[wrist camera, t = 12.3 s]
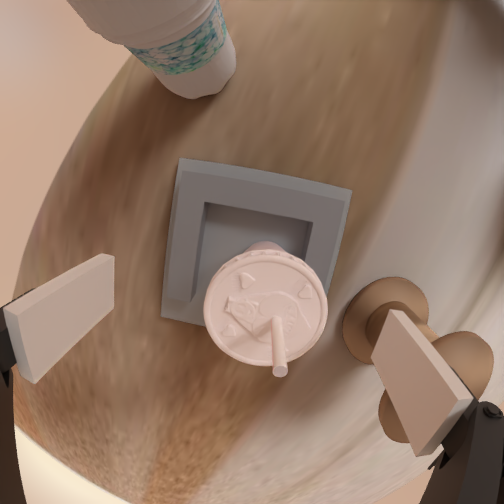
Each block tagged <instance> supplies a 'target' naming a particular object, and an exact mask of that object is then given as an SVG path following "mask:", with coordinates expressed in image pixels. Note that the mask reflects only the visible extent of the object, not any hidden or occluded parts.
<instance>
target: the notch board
mask: <svg viewBox="0 0 504 504" xmlns="http://www.w3.org/2000/svg"><path fill="white" fill-rule="evenodd" d="M351 195H352V190H349V189H345V188H341V187H337V186H333V185H329V184H325V183H320V182H316V181H312V180H307V179H303V178H298V177H293V176H288V175H283V174H278V173H273V172H268V171H263V170H257V169H252V168H246V167H240V166H234V165H228V164H222V163H216V162H209V161H202V160H195V159H187V158H180V159H179V164H178V170H177V176H176V182H175V188H174V195H173V202H172V209H171V216H170V223H169V231H168V240H167V248H166V258H165V268H164V279H163V291H162V304H161V317H165V318H170V319H174V320H178V321H182V322H187V323H191V324H196V325H200V326H205V327H206V325H205V321H204V313H203V307H204V300H205V296H206V292H207V289H208V286H209V284H210V282H211V280H212V278H213V276H214V275H215V274H216V272H217V271H218V270H219V269H220V268H221V267H222V265H223V264H225V263H226V262H228V261H229V260H231V259H232V258H234V257H235V256H237V255H240V254H243V253H244V252H245V251H246V250H247V249H248V248H249V247H250V246H251V245H253V244H254V243H257V242H260V241H270V242H274V243H276V244H278V245H279V246H280V247H281V248H282V249H283V250H284V251H286V252H287V253H289V254H291V255H293V256H295V257H297V258H299V259H301V260H303V261H304V262H305V263H306V264H307V265H308V266H309V267H311V268H312V269H313V270H314V272H315V273H316V275H317V277H318V278H319V280H320V281H321V283H322V286H323V289H324V292H325V295H326V298H327V294H328V291H329V287H330V283H331V280H332V276H333V272H334V268H335V264H336V261H337V257H338V253H339V249H340V244H341V240H342V236H343V232H344V227H345V223H346V219H347V214H348V209H349V205H350V200H351Z"/></svg>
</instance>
